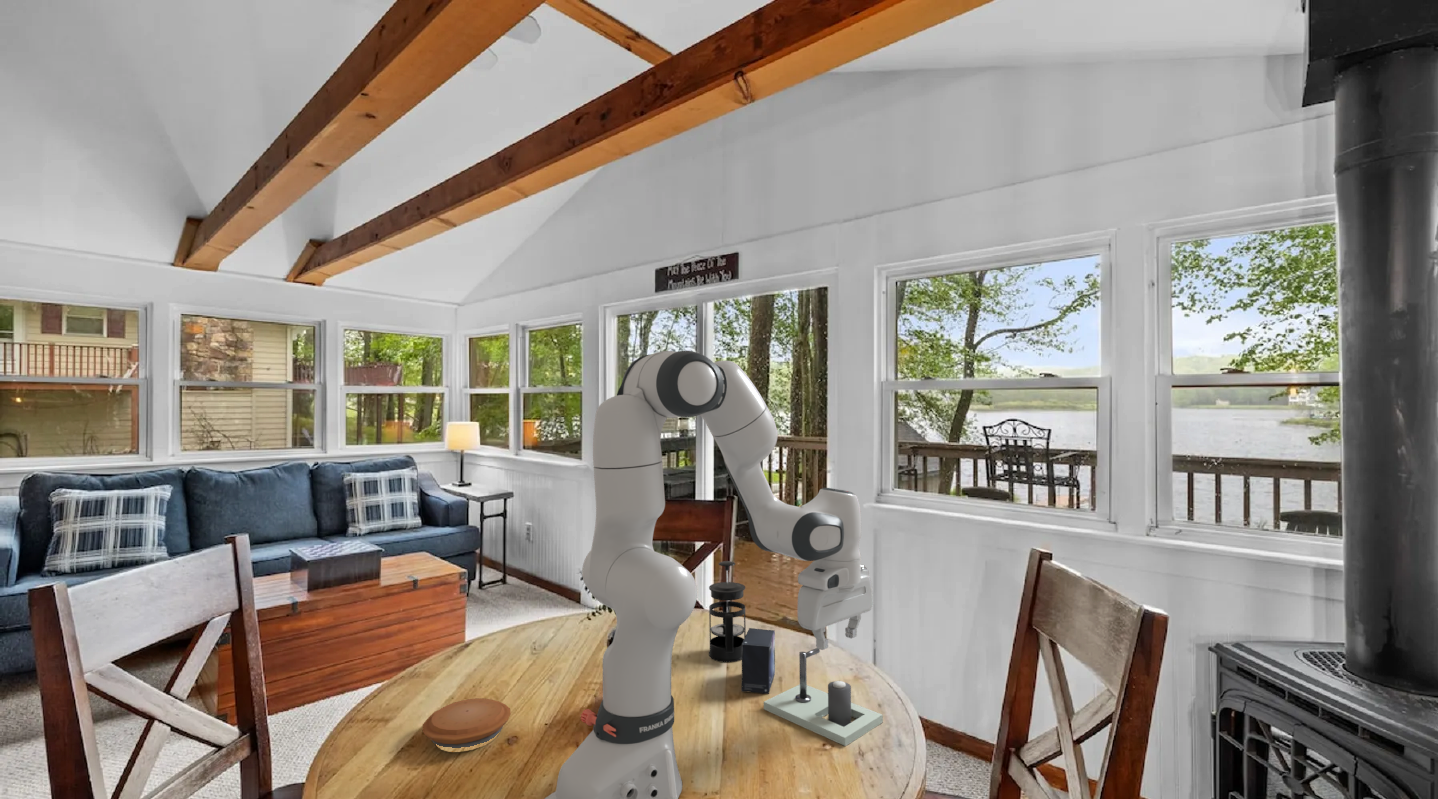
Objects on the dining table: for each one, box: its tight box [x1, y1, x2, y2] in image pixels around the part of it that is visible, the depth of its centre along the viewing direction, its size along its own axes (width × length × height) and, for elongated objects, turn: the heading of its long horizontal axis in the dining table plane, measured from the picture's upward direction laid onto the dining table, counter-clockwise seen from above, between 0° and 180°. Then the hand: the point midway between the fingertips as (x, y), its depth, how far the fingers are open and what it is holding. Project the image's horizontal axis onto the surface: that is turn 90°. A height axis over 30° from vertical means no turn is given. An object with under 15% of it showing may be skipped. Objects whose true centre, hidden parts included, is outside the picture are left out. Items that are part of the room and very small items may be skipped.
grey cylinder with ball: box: [827, 680, 852, 727], centre depth 126 cm, size 4×4×8 cm
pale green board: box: [763, 683, 884, 747], centre depth 129 cm, size 12×20×2 cm, turn 44°
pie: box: [421, 697, 512, 748], centre depth 122 cm, size 16×16×5 cm
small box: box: [740, 627, 776, 695], centre depth 144 cm, size 11×6×10 cm, turn 168°
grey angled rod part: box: [795, 647, 821, 703], centre depth 134 cm, size 7×3×10 cm, turn 134°
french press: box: [708, 560, 747, 663], centre depth 160 cm, size 12×9×23 cm
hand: (836, 642), depth 126 cm, fingers open, 8 cm apart
